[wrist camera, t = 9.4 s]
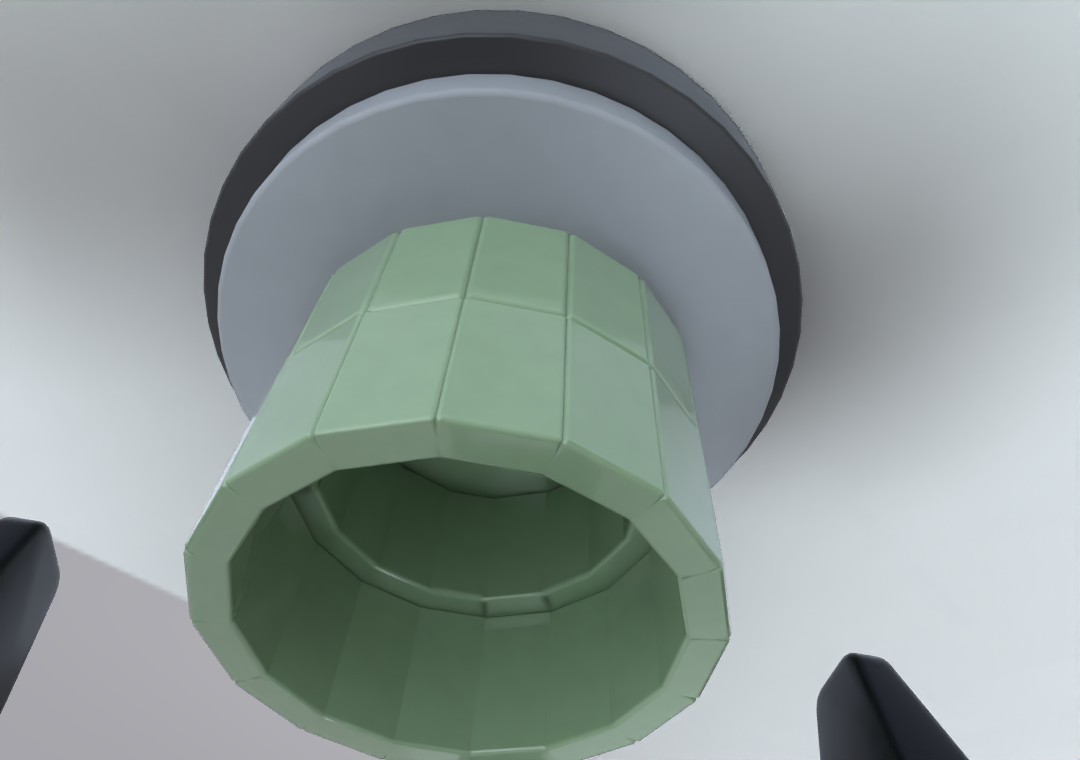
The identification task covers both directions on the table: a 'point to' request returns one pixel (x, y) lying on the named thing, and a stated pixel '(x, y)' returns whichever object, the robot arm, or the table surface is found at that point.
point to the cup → (470, 508)
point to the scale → (515, 194)
